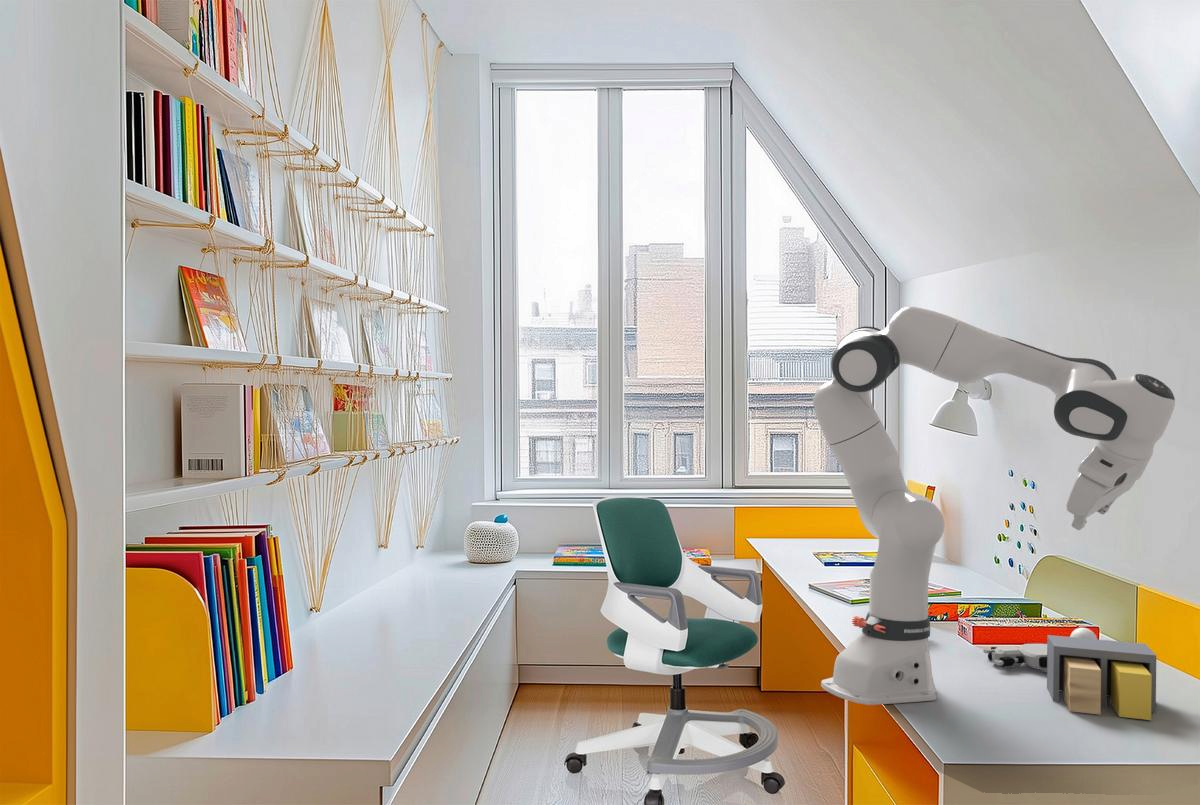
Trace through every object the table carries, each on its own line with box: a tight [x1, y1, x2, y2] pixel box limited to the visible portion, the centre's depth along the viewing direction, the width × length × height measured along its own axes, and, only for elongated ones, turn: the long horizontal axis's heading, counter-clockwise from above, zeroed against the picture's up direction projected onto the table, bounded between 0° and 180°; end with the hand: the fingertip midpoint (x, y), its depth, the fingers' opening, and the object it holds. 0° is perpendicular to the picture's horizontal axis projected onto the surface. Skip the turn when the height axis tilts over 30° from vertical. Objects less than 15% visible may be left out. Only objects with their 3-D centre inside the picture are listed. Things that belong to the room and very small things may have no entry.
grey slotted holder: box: [1046, 634, 1157, 714], centre depth 173 cm, size 9×17×10 cm, turn 70°
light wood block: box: [1062, 656, 1102, 715], centre depth 169 cm, size 8×5×8 cm, turn 160°
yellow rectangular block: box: [1110, 661, 1152, 721], centre depth 166 cm, size 8×5×8 cm, turn 160°
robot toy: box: [982, 643, 1047, 673], centre depth 195 cm, size 12×4×15 cm
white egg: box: [1069, 627, 1098, 639], centre depth 208 cm, size 8×6×6 cm
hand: (1089, 519), depth 172 cm, fingers open, 8 cm apart
